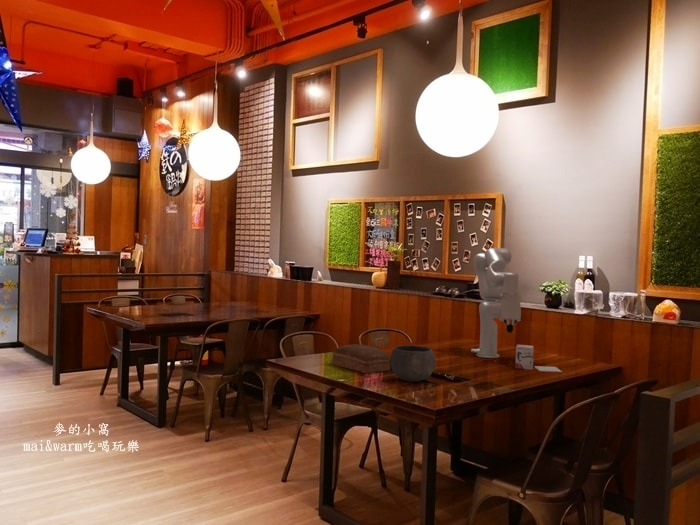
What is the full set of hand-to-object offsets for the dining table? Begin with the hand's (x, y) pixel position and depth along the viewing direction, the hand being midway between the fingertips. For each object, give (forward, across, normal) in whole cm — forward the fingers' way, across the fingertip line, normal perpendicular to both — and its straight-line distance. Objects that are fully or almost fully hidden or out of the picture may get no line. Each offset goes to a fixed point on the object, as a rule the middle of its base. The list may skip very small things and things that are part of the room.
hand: (509, 332), depth 312 cm
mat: (+18, +20, +1) cm, 27 cm away
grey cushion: (+19, -76, -11) cm, 79 cm away
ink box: (+19, +8, +1) cm, 20 cm away
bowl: (+19, -51, -38) cm, 67 cm away
